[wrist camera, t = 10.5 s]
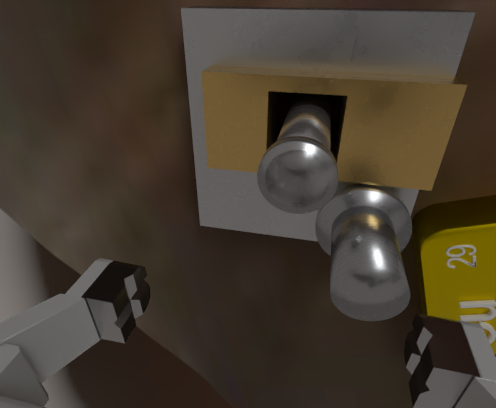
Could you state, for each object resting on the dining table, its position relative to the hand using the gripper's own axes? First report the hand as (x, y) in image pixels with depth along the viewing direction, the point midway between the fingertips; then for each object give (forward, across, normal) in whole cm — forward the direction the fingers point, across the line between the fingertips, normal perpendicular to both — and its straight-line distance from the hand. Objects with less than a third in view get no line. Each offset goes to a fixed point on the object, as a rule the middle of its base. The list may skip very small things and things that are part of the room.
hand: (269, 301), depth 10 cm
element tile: (+21, -19, +13) cm, 31 cm away
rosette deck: (+20, 0, +2) cm, 20 cm away
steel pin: (+20, 0, 0) cm, 20 cm away
